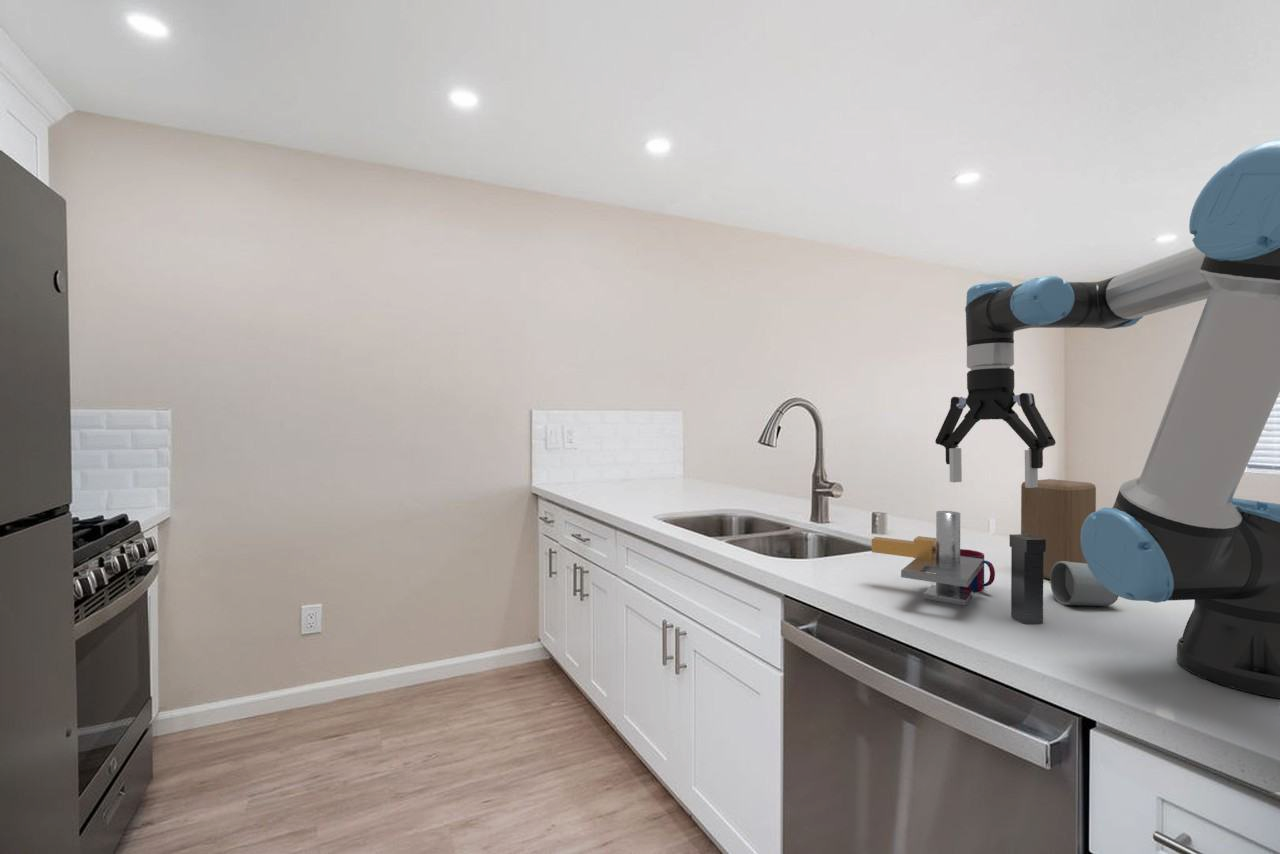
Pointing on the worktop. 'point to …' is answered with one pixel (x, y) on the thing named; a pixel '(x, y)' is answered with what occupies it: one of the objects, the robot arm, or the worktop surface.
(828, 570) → the worktop surface
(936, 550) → the grey plate with post
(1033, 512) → the block
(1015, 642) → the worktop surface
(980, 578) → the cup
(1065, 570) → the grey cylinder
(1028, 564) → the wedge pin
